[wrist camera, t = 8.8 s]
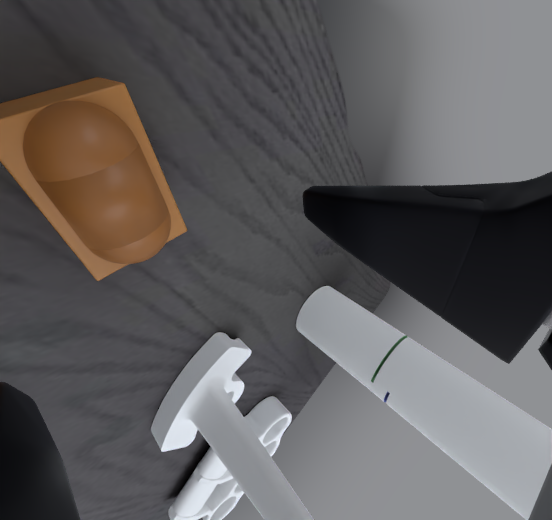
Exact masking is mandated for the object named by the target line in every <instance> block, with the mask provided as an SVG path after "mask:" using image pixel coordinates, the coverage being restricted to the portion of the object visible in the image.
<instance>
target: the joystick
mask: <svg viewBox="0 0 552 520" xmlns="http://www.w3.org/2000/svg"><path fill="white" fill-rule="evenodd" d="M250 355H251V350H250V349H249V348H248V347H247V346H246V345H245V344H244V343H243V342H242V341H241V340H240V339H239V338H236V339H235V340H233V339H230V338H229V337H228V335H227V334H226V333H221V332H218V333H215V334H214V335H213V336H212V337H211V338H210V339H209V340H208V341H207V342H206V343H205V344H204V345H203V346H202V347H201V348H200V350H199V351H198V352H197V353H196V354H195V355H194V356H193V358H192V359H191V360H190V361H189V362H188V364H187V365H186V366H185V368H184V369H183V370H182V371H181V373H180V374H179V376H178V377H177V378H176V380H175V381H174V383H173V384H172V386H171V388H170V389H169V391H168V392H167V394H166V396H165V398H164V399H163V401H162V403H161V405H160V407H159V409H158V411H157V414H156V416H155V418H154V421H153V424H152V427H151V432H152V434H153V436H154V438H155V440H156V442H157V444H158V446H159V447H160V449H161V451H162V452H165V451H169V450H174V449H178V448H182V447H186V446H188V445H189V444H191V443H192V442H193V440H194V439H195V436H196V433H197V430H199V431H200V433H201V434H202V436H203V437H204V438H205V440H206V441H207V442H208V444H209V445H210V446H211V448H212V449H213V451H214V452H215V453H216V455H217V456H218V457H219V459H220V460H221V461H222V463H223V464H224V466H225V467H226V468H227V470H228V471H229V472H230V474H231V475H232V476H233V478H234V479H235V481H236V482H237V483H238V485H239V486H240V487H241V489H242V490H243V491H244V493H245V494H246V495H247V497H248V498H249V500H250V501H251V502H252V504H253V505H254V506H255V508H256V509H257V511H258V512H259V513H260V515H261V516H262V517H263V519H264V520H314V518H313V517H312V516H311V514H310V513H309V511H308V510H307V508H306V507H305V505H304V504H303V502H302V501H301V500H300V498H299V497H298V495H297V494H296V492H295V491H294V490H293V488H292V487H291V485H290V484H289V482H288V481H287V480H286V478H285V476H284V475H283V473H282V472H281V471H280V469H279V468H278V466H277V465H276V464H275V462H274V460H273V459H272V457H271V456H270V455H269V453H268V452H267V450H266V449H265V447H264V446H263V444H262V443H261V442H260V440H259V439H258V437H257V436H256V434H255V433H254V431H253V430H252V428H251V427H250V426H249V424H248V423H247V421H246V420H245V418H244V417H243V415H242V414H241V412H240V411H239V410H238V408H237V407H236V405H235V403H236V401H237V400H238V399H239V398H240V396H241V394H242V392H243V390H244V383H243V382H242V381H241V380H240V378H239V377H238V376H237V375H236V374H235V373H234V372H235V371H236V370H237V369H238V368H239V367H240V366H241V365H242V364H243V363H244V362H245V361H246V360H247V359H248V358H249V356H250Z"/></svg>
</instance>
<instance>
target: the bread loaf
mask: <svg viewBox="0 0 552 520" xmlns="http://www.w3.org/2000/svg"><path fill="white" fill-rule="evenodd" d="M0 162H1V163H2V164H3V165H4V167H5V168H6V169H7V170H8V172H9V173H10V174H11V175H12V176H13V178H14V179H15V180H16V181H17V183H18V184H19V185H20V186H21V188H22V189H23V190H24V191H25V193H26V194H27V195H28V196H29V197H30V199H31V200H32V201H33V202H34V204H35V205H36V206H37V207H38V209H39V210H40V211H41V212H42V214H43V215H44V216H45V217H46V219H47V220H48V221H49V222H50V223H51V225H52V226H53V227H54V228H55V230H56V231H57V232H58V233H59V235H60V236H61V237H62V238H63V240H64V241H65V242H66V243H67V244H68V246H69V247H70V248H71V249H72V251H73V252H74V253H75V254H76V256H77V257H78V258H79V259H80V261H81V262H82V263H83V264H84V266H85V267H86V268H87V269H88V270H89V272H90V273H91V274H92V275H93V277H94V278H95V279H96V280H97V281H100V280H101V279H103V278H105V277H107V276H108V275H110V274H112V273H114V272H115V271H117V270H119V269H121V268H122V267H124V266H126V265H128V264H133V263H139V262H142V261H145V260H147V259H149V258H151V257H153V256H154V255H155V254H157V253H158V252H159V251H160V250H161V249H162V248H163V246H164V245H165V243H167V242H168V241H170V240H172V239H174V238H175V237H177V236H179V235H181V234H182V233H184V232H186V231H187V228H186V226H185V223H184V221H183V219H182V216H181V214H180V212H179V209H178V207H177V205H176V202H175V200H174V198H173V195H172V193H171V191H170V188H169V186H168V184H167V181H166V179H165V177H164V174H163V172H162V170H161V167H160V165H159V163H158V160H157V158H156V156H155V153H154V151H153V149H152V146H151V144H150V142H149V139H148V137H147V135H146V132H145V130H144V128H143V125H142V123H141V120H140V118H139V116H138V113H137V111H136V109H135V106H134V104H133V102H132V99H131V97H130V95H129V92H128V90H127V88H126V85H125V84H124V83H121V82H117V81H113V80H108V79H104V78H99V77H96V78H92V79H88V80H85V81H81V82H77V83H74V84H70V85H66V86H63V87H59V88H55V89H52V90H48V91H44V92H41V93H37V94H33V95H30V96H26V97H22V98H19V99H15V100H11V101H8V102H4V103H0Z"/></svg>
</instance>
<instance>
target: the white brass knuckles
mask: <svg viewBox="0 0 552 520" xmlns="http://www.w3.org/2000/svg"><path fill="white" fill-rule="evenodd" d="M244 418H245V420H246V421H247V423H248V424H249V426H250V427H251V428H252V430H253V431H254V433H255V434H256V436H257V437H258V439H259V440H260V442H261V443H262V444H263V446H264V447H265V449H266V450H267V452H268V453H269V455H270V456H272V455H273V454H274V453H275V451H276V449H277V447H278V445H279V444H280V439H281V436H282V434H283V433H284V431H285V430H286V428H287V427H288V426H289V424H290V422H291V419H292V415H291V413H290V412H289V411H288V410H287V409H286V408H285V407H284V406H283V404H282V403H281V402H280V401H279V400H278V399H277V398H276V397H274V396H270V397H267V398H265V399H264V400H262V401H261V402H259V403H258V404H257V405H256V406H255V407H254V408H253V409H252V410H251V411H250V413H249V414H247V415H246V416H245V417H244ZM243 494H244V491H243V490H242V489H241V487H240V486H239V485H238V483H237V482H236V481H235V479H234V478H233V476H232V475H231V474H230V472H229V471H228V470H227V468H226V467H225V466H224V464H223V463H222V461H221V460H220V459H219V457H218V456H217V455H216V453H215V452H214V451H213V449H212V448H211V446H210V448H209V449H208V451H207V452H206V454H205V455H204V457H203V458H202V460H200V462H199V463H198V465H197V467H196V469H195V470H194V472H193V473H192V475H191V476H190V478H189V479H188V481H187V482H186V484H185V485H184V487H183V488H182V490H181V492H180V493H179V495H178V496H177V497H176V498H175V500H174V501H173V503H172V505H171V507H170V508H169V511H168V515H169V518H170V519H171V520H198V519H200V518H203V520H222V519H223V518H224V517H225V516H226V515H227V514H228V513H229V512H230V511H231V510H232V509H233V508H234V507H235V506H236V504H237V502H238V501H239V499H240V497H241V496H242V495H243Z"/></svg>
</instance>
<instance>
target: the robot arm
mask: <svg viewBox="0 0 552 520" xmlns="http://www.w3.org/2000/svg"><path fill="white" fill-rule="evenodd" d="M303 206H304V214H305V216H306V217H307V219H308V220H310V221H311V222H312V223H313V224H314V225H315V226H317V227H318V228H319V229H320V230H321V231H322V232H323V233H325V234H326V235H327V236H328V237H329V238H330V239H331V240H333V241H334V242H335V243H336V244H338V245H339V246H340V247H342V248H343V249H344V250H346V251H347V252H349V253H350V254H352V255H353V256H354V257H356V258H357V259H359V260H360V261H362V262H363V263H364V264H366V265H367V266H369V267H370V268H372V269H373V270H374V271H376V272H377V273H379V274H380V275H382V276H383V277H384V278H386V279H387V280H389V281H390V282H392V283H393V284H395V285H396V286H397V287H399V288H400V289H402V290H403V291H404V292H406V293H407V294H409V295H410V296H412V297H413V298H414V299H416V300H418V301H419V302H420V303H422V304H423V305H425V306H426V307H427V308H429V309H430V310H432V311H433V312H434V313H436V314H437V315H439V316H441V317H442V318H443V319H444V320H445V321H447V322H448V323H450V324H451V325H453V326H454V327H455V328H457V329H458V330H460V331H461V332H463V333H464V334H465V335H467V336H468V337H470V338H471V339H473V340H474V341H475V342H477V343H478V344H480V345H481V346H483V347H484V348H486V349H487V350H488V351H490V352H491V353H493V354H494V355H495V356H497V357H498V358H500V359H501V360H503V361H505V362H506V363H508V364H509V363H510V362H511V361H512V360H513V358H514V357H515V356H516V355H517V354H518V353H519V351H520V350H521V349H522V348H523V346H524V345H525V344H526V343H527V341H528V340H529V339H530V338H531V337H532V335H533V334H534V333H535V332H536V331H537V329H538V328H539V327H540V326H541V325H542V324H543V325H545V326H547V327H549V328H550V329H549V331H548V333H547V335H546V337H545V338H544V340H543V342H542V344H541V346H540V348H539V351H540V353H541V355H542V356H543V357H544V359H545V360H546V362H547V364H548V365H549V367H550V368H551V370H552V172H550V173H547V174H545V175H542V176H540V177H537V178H534V179H530V180H526V181H521V182H511V183H492V184H474V185H445V186H444V185H443V186H442V185H440V186H312V187H310V188H309V189H307V190H305V191H304V192H303ZM0 520H80V517H79V513H78V510H77V507H76V503H75V500H74V496H73V493H72V490H71V486H70V483H69V480H68V476H67V473H66V469H65V466H64V463H63V460H62V458H61V456H60V453H59V451H58V449H57V447H56V445H55V443H54V441H53V439H52V436H51V434H50V432H49V430H48V428H47V426H46V424H45V422H44V420H43V418H42V416H41V414H40V411H39V409H38V407H37V405H36V403H35V402H34V401H33V399H32V398H30V397H29V396H28V395H26V394H24V393H23V392H21V391H19V390H17V389H16V388H14V387H12V386H11V385H9V384H7V383H5V382H0ZM528 520H552V464H551V466H550V469H549V471H548V473H547V476H546V478H545V481H544V483H543V486H542V488H541V490H540V493H539V495H538V498H537V500H536V502H535V505H534V507H533V510H532V512H531V515H530V517H529V519H528Z"/></svg>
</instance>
